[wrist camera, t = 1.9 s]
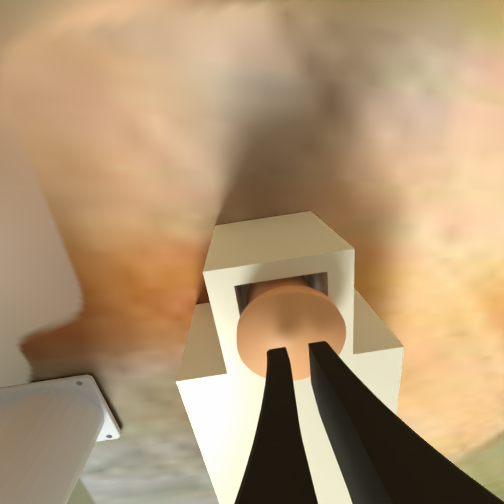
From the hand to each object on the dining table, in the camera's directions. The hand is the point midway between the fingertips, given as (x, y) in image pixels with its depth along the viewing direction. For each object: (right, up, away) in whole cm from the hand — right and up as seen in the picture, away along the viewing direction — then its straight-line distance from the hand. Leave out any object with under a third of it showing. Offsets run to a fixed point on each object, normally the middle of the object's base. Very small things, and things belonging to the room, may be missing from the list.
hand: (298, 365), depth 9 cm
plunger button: (0, +2, +5) cm, 5 cm away
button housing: (0, -3, +12) cm, 12 cm away
